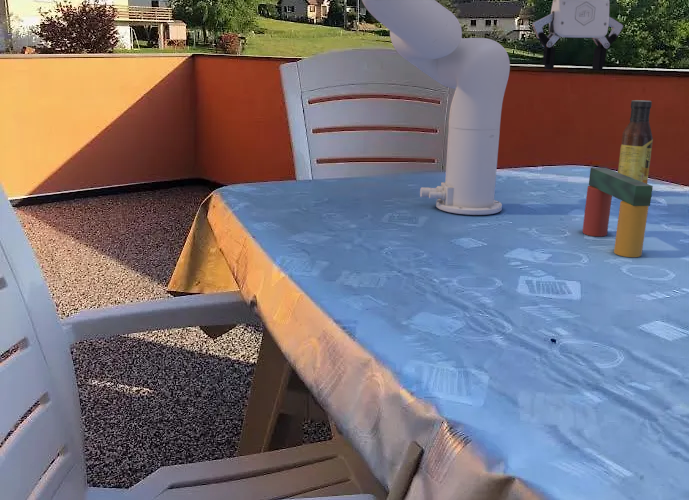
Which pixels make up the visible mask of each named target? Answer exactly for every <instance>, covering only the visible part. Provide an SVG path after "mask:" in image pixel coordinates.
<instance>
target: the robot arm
mask: <svg viewBox="0 0 689 500" xmlns="http://www.w3.org/2000/svg"><path fill="white" fill-rule="evenodd" d="M361 2H362V4H363V6H364V7H365V9H366V10H367V11H368V13H369V14H370V15H371V16H372V17H373V18H374V19H375V20H377V22H379V23H380V24H381V25H383V26H384V27H385V28H386V29H388V30H389V37H390V41H391V44H392V46H393V48H394V49H395V51H396V52H397V54H399V55H400V57H402V58H403V59H404V60H406V61H407V62H408V63H410V64H411V65H413V66H414V67H416V68H417V69H418V70H420V71H421V72H422V73H423V74H425V75H427V76H428V77H430V78H431V79H432V80H433V81H435V82H437V83H438V84H440V85H442V86H444V87H446V88H449V89H454V90H455V91H454V94H453V96H452V100H451V103H450V107H449V114H448V129H447V130H448V131H447V147H446V150H447V151H446V161H445V178H444V179H445V180H444V181H443V182H440V183H441V184H440V185H437V186H436V187H420V189H419V196H420V198H429V199H430V200H435V199H436V200H435V207H436V208H437V209H438V210H440V211H443V212H447V213H451V214H457V215H464V216H465V215H466V216H486V215H493V214H497V213H500V212H501V211H502V209H503V204H502V202H501V201H499V200H496V199H495V196H496V194H495V193H496V182H497V170H498V169H497V168H498V158H499V146H500V145H499V144H500V135H501V134H500V131H501V120H502V119H501V118H502V110H503V102H504V96H505V93H506V88H507V85H508V82H509V81H508V80H509V76H510V71H511V62H510V57H509V54H508V52H507V50H506V49H505V47H504V46H503V45H502V44H501V43H499V42H497V41H496V40H494V39H491V38H486V37H466V38H465V37H463V30H462V26H461V23H460V21H459V19H458V18H457V17H456V15H455V14H454V13H453V12H451V10H449V9H447V8H446V7H445V6H444V5H442V4H441V3H439V2H438V1H437V0H361ZM546 25H548V33H549V34H548V35H546V33H545V32H544V26H546ZM531 26H532V29H533V32H534V34H535V37H536V39H537V40H538V41H539V43H540V44H541V46H542V47H543V55H542V65H543V66H544V67H543V69H544V70H553V69H554V67H555V58H556V48H555V47H554V45H555V44H556V43H557V41H558V40H560V38H571V39H572V38H573V39H575V38H576V39H578V38H579V39H590V38H591V39H592V40H593V42H594V43H595V45H596V47H595V48H594V50H593V56H592V57H593V59H592V68H591V69H592V70H594V71H603V67H604V66H605V65H606V58H607V49H609V48H610V46H611V45H612V44H613V43H614V42H615V41H616V40H617V38H618V36H620V33H621V32H622V30H623V28H624V25H623V24H622V23H621V22H619V21H618V20H616V19H615V18H613V17H611V16H610V0H552V4H551V10H550V13H549V14H547V15H546V16H544V17H542V18H540V19H537V20H535V21H534V22H532V24H531ZM609 27H610V28H611V30H610V33H608V31H609ZM607 34H608V35H607Z"/></svg>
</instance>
